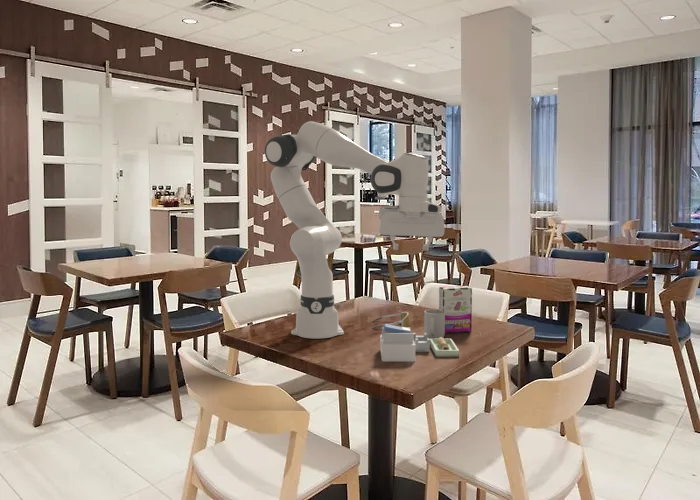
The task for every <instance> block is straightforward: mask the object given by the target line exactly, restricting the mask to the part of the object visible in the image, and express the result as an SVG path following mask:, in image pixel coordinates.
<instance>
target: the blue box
mask: <svg viewBox="0 0 700 500" xmlns="http://www.w3.org/2000/svg"><path fill="white" fill-rule="evenodd" d="M384 324H385V325H384V326H383V327H384V331H386V332H391V333H412V331H411V330H410V329H409V328H405V327H401V326H397V325H395V324H393V325H389V324H390V323H384Z"/></svg>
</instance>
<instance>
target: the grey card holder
mask: <svg viewBox="0 0 700 500" xmlns="http://www.w3.org/2000/svg"><path fill="white" fill-rule="evenodd" d="M405 328H409V329H410V330H411V329H412V328H411V327H410V326H408V327H405ZM413 333H414V332H411V333H391V332H386V331H384V326H382V327H381V334H380V336H379V351H380V357H381V362H416V351H415V343H414V340H413Z"/></svg>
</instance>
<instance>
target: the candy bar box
mask: <svg viewBox="0 0 700 500" xmlns="http://www.w3.org/2000/svg"><path fill="white" fill-rule="evenodd" d="M438 293H439V294H438V310H442V311H445V334H450V333H451V334H456V333H470V332H472V323H473V322H472V314H473V313H472V311H473V309H472V308H473V304H472V303H473V300H472V299H473V298H472V297H473V296H472V295H473V287H471V286H469V285H455V286H439V287H438Z"/></svg>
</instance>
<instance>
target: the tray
mask: <svg viewBox="0 0 700 500" xmlns="http://www.w3.org/2000/svg"><path fill="white" fill-rule="evenodd" d="M429 339H430V349H431V350H432V352H433V355H434V356H435V357H436V358H442V357H444V358H455V357H456V358H460V349H459V348H458V347H457V345H456V343H455V342H454V340H453V339H452V338H448V337H447V338H444V340H445V341H446V343H447V345H448V346H449V348H450V350H442V349H441V348H440V346H439V344H438V342H437V340H438V338H429Z"/></svg>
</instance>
